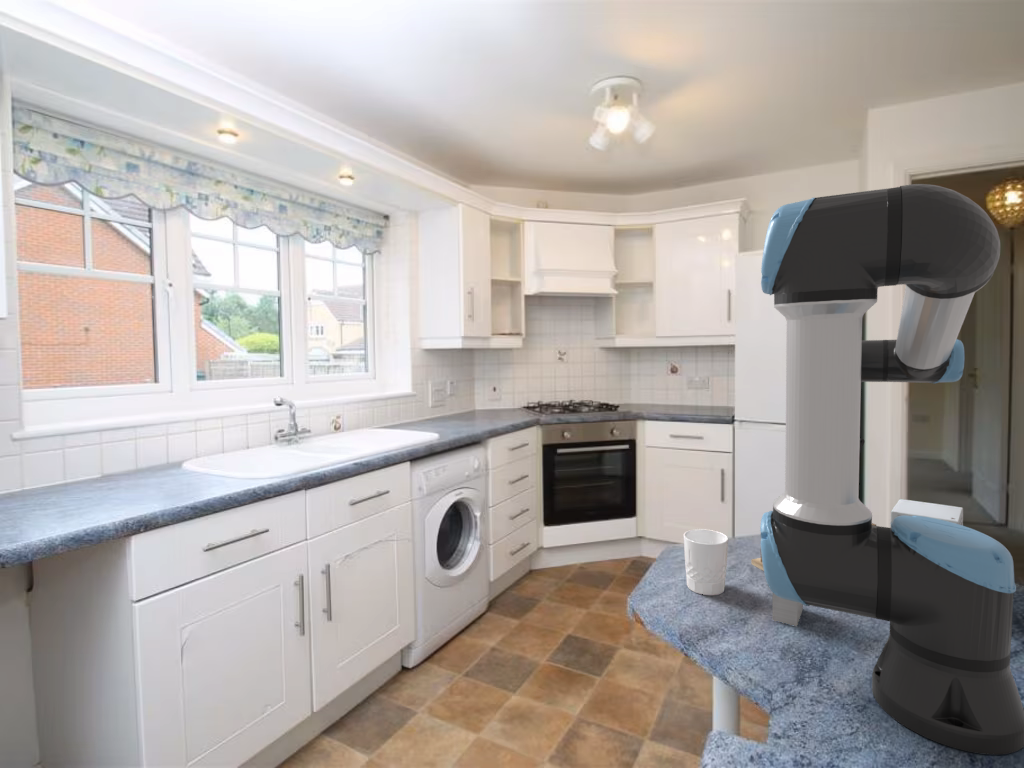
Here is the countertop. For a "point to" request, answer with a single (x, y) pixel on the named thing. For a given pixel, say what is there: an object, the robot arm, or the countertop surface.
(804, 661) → the countertop surface
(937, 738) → the robot arm
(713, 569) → the white cup
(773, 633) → the countertop surface
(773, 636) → the countertop surface
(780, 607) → the grey upright block
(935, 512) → the supplement box
